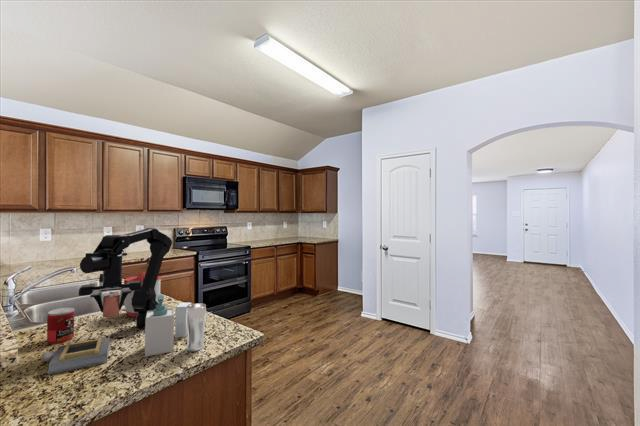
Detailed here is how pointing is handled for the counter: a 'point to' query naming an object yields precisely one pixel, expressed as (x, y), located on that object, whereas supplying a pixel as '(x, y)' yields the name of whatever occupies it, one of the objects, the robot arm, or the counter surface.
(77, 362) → the grey and gold frame
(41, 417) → the counter surface
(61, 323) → the canned food
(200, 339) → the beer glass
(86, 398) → the counter surface
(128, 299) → the citrus juicer
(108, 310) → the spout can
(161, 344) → the soap bottle
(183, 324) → the skincare box
